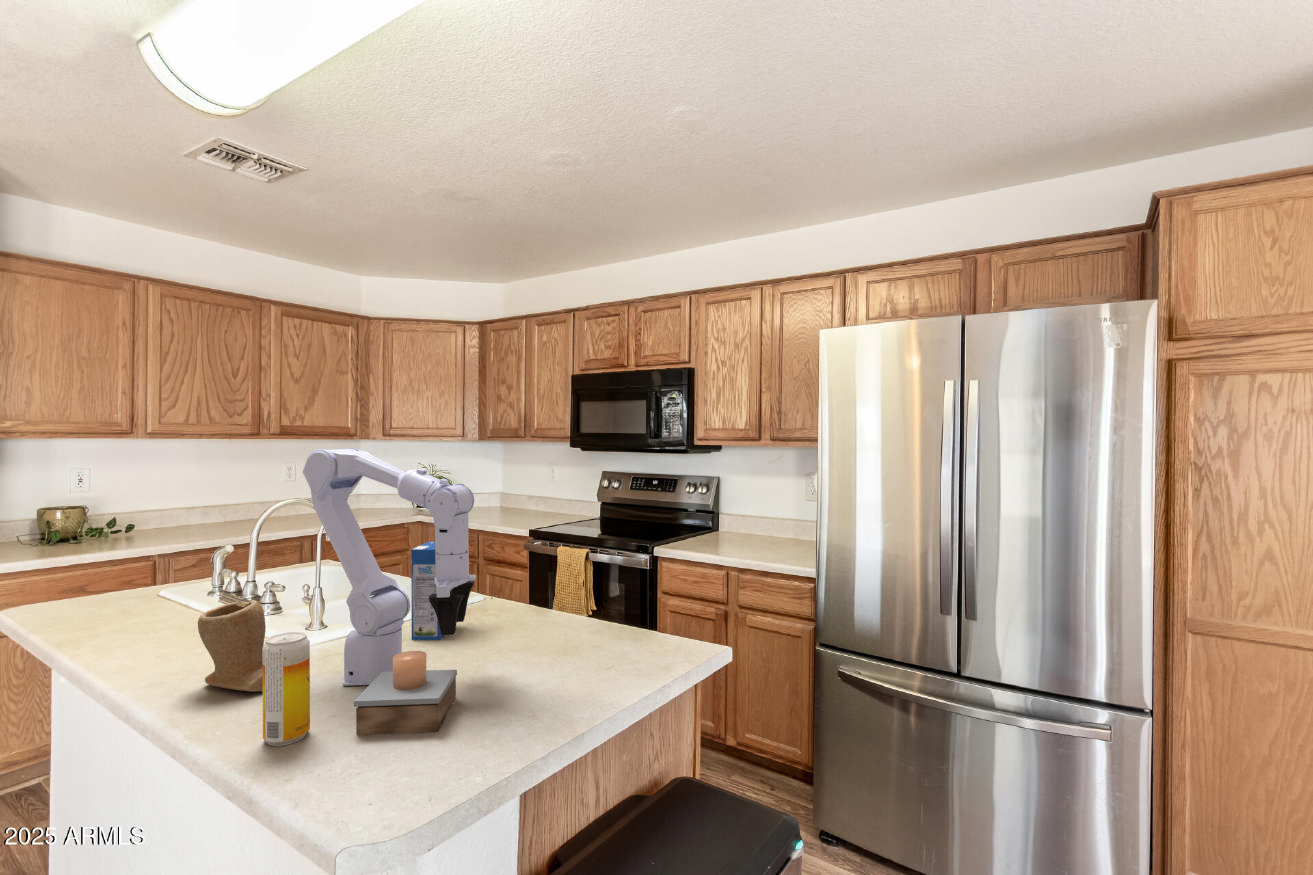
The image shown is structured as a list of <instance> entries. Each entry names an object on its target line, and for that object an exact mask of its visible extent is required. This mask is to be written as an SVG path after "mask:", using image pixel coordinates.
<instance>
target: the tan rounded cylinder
mask: <svg viewBox="0 0 1313 875" xmlns="http://www.w3.org/2000/svg"><path fill="white" fill-rule="evenodd" d="M426 670H427V652H426V651H422V650H409V651H404V652H403V651H402V653H399V654H397V655H395V656H394V657H393V687H394V688H395V689H398V690H410V689H415V688H419V687H421V686H423V685H425V684H426Z"/></svg>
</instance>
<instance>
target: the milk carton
mask: <svg viewBox="0 0 1313 875" xmlns="http://www.w3.org/2000/svg"><path fill="white" fill-rule="evenodd" d="M410 553H411V558H410V559H411V560H410V561H411V562H410V563H411V568H410V569H411V581H410V583H411V596H410V598H411V601H410V609H411V641H441V640H443V638H444V637H445V636H446V635H442V634H441V631H440V627H439V623H438V619H437V615H436V613H435V610H434V608H433V606H432V605H431V603H430V602H429V596H430V595H431V594H437V586H436V584H435V577H436V556H435V541H427V542H425V543H422V544H420V545H418V546H415V547H413V548H411V552H410Z"/></svg>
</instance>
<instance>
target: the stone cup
mask: <svg viewBox="0 0 1313 875" xmlns="http://www.w3.org/2000/svg"><path fill="white" fill-rule="evenodd" d="M265 617H266V616H265V611H264V607H263V606H262V605H261V603H260V602H258V601H257V600H255V599H251V600H250V601H242V600H241V601H234V602H229V603H226V604H222V605H219V606H217V607H215V608H211V609H209V610H207V611H205V612H203V613H202V614H201V615H200V616H199V617H198V620H197V630H198V635H199V637H200V639H201V641H202V643H203V645H204V647H205V649H206V650H207V652H208V654H209V655H210V657H211V659H212V661H213V665H214V671H212V672H211V673H210V674H208V675H207V676H206V677H205V678H204V682H205V684H207V685H209V686H212V687H217V688H222V689H229V690H236V691H241V692H263V662H262V649H263V646H264V644H265V637H266V630H267V629H266V627H267V626H266V618H265Z"/></svg>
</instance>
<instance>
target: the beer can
mask: <svg viewBox="0 0 1313 875" xmlns="http://www.w3.org/2000/svg"><path fill="white" fill-rule="evenodd" d="M310 644H311V642H310V640H309V638H308V635H307V633H305V632H301V631H291V632H283V633H278V634H275V635H272V636H269V637H268V638H266V640H265V641H264V646H263V649H262V662H263V691H262V740H264V741H265V742H266V743H267V744H268V745H269V746H273V747H281V746H287V745H291V744H294V743H297V742H300V741H301V740H303V739H304V738H305V737H306V736H307V733H308V732H309V731H310V729H311V687H310V686H311V681H310V679H311V676H310V675H311V668H310V667H311V666H310V665H311V661H310V657H311V649H310Z"/></svg>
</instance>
